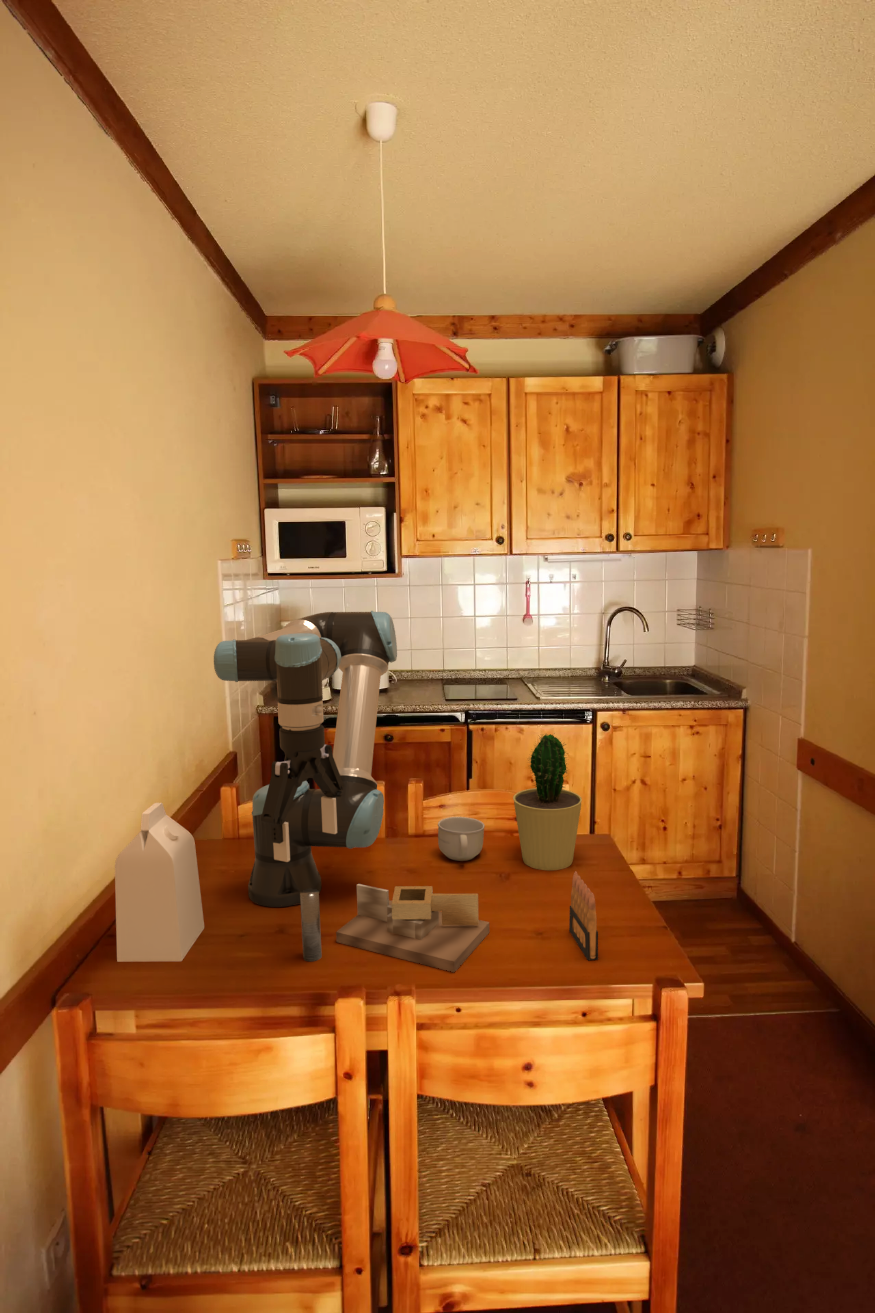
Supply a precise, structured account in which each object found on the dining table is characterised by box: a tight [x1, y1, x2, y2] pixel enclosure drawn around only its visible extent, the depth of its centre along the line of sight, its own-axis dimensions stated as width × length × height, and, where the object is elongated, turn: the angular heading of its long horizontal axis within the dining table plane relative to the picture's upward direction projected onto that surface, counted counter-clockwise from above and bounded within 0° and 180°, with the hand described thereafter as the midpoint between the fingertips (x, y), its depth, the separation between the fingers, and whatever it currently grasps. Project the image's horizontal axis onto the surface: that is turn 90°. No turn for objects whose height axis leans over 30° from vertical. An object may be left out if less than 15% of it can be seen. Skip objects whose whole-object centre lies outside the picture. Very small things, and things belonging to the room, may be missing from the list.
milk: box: [114, 802, 205, 963], centre depth 137 cm, size 12×12×26 cm
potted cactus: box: [512, 731, 583, 871], centre depth 171 cm, size 15×15×30 cm
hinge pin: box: [300, 888, 323, 963], centre depth 133 cm, size 3×3×12 cm
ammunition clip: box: [568, 870, 599, 961], centre depth 135 cm, size 11×2×12 cm, turn 8°
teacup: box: [437, 816, 485, 862], centre depth 174 cm, size 14×11×8 cm
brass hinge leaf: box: [391, 885, 479, 925], centre depth 139 cm, size 16×7×6 cm, turn 88°
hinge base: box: [335, 883, 490, 973], centre depth 139 cm, size 24×15×8 cm, turn 63°
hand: (307, 845), depth 131 cm, fingers open, 13 cm apart
